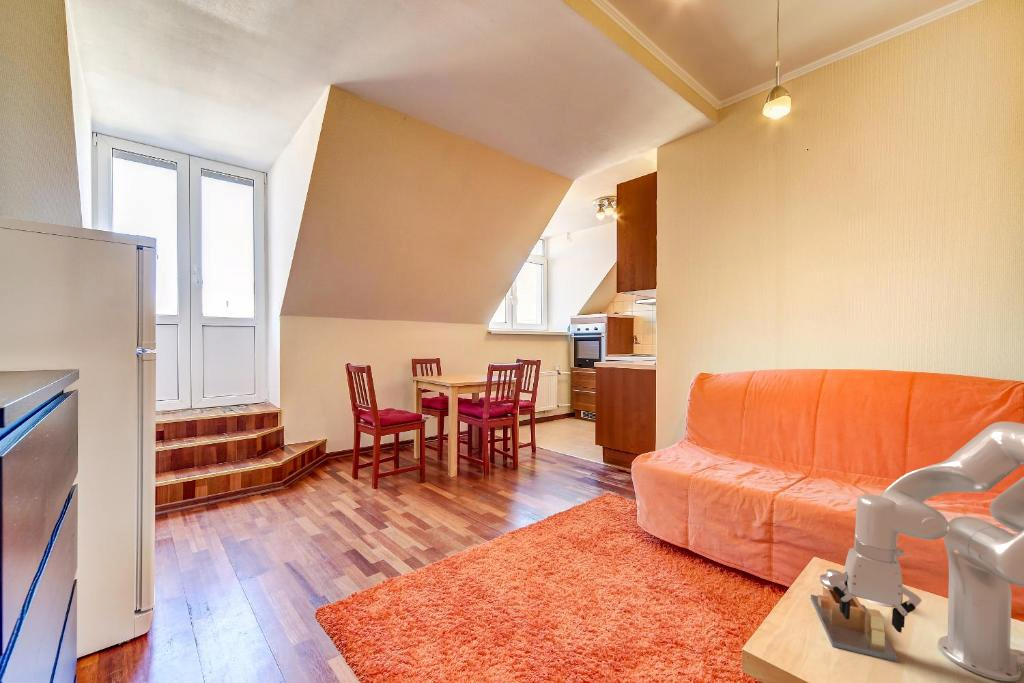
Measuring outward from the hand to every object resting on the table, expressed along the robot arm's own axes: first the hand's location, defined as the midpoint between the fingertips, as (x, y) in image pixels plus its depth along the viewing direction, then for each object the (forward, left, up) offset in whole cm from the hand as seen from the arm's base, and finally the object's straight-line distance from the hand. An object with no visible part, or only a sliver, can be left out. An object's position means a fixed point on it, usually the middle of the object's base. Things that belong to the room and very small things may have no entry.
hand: (870, 622), depth 100 cm
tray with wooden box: (+2, -7, -6) cm, 9 cm away
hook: (-9, -25, -6) cm, 27 cm away
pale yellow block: (-1, 0, -5) cm, 5 cm away
